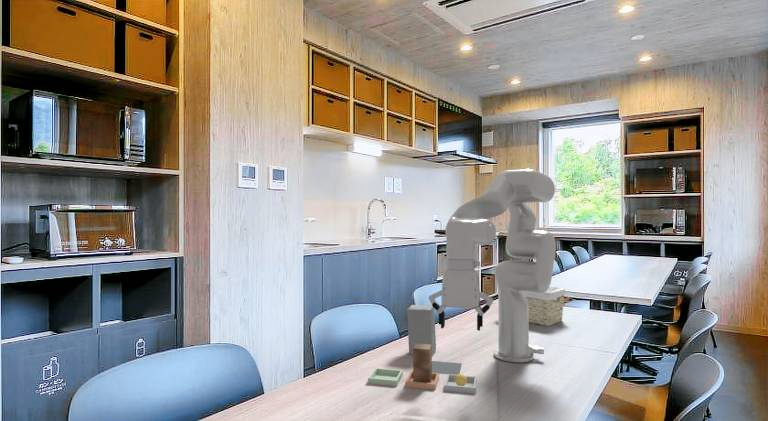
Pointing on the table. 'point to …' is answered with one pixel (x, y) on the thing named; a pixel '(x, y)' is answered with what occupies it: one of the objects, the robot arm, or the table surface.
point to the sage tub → (385, 377)
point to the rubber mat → (446, 367)
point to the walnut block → (422, 363)
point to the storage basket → (545, 306)
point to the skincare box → (421, 326)
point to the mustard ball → (460, 380)
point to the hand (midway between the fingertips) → (460, 328)
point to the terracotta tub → (422, 385)
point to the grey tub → (467, 388)
